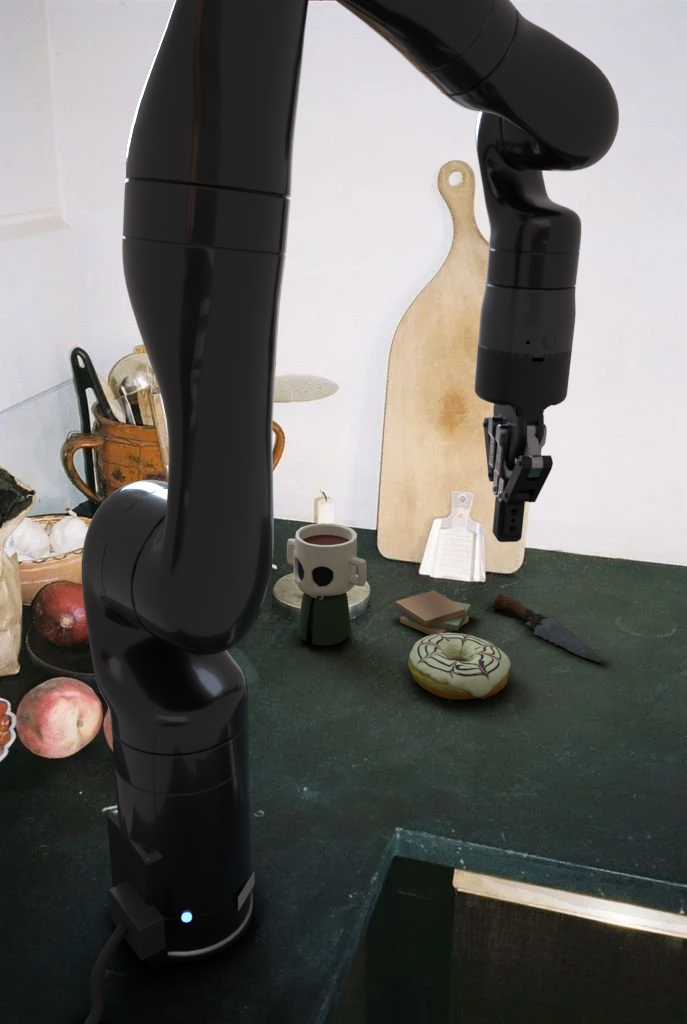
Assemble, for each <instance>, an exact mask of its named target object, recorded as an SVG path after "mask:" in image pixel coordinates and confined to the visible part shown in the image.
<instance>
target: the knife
mask: <svg viewBox="0 0 687 1024" xmlns="http://www.w3.org/2000/svg"><path fill="white" fill-rule="evenodd" d="M492 609H493V611H499V610H500V611H502V610H505V611H507V612H511V613H513V614H514V615H516V616H518V617H520V618H521V619H522V620H523V621H524V622H525V625H526V626H529V628H531V629H532V631H533V636H537V637H539V638H541V639H543V640H547V641H548V642H549V643H553V644H554V645H555V646H559V647H561V648H563V649H565V650H566V651H568V652H569V653H572V654H573V655H576V656H578V657H582V658H583V659H587V660H590V661H593V662H596V663H602V660H601V658H599V656H598V655H597V654H596V653H595V651H593V650H592V649H591V647H589V646H588V645H587V644H586V643H585V642H584V641H583V640H582V639H579V638H578V636H577V635H575V633H574V632H573V631H571V630H569V628H567V627H565V625H564V624H562V623H561V621H560V620H557V619H556V617H555V616H553V617H551V618H550V617H549V618H548V617H547V616H545V615H543V614H542V613H540V612H538V613H536V612H534V610H532V609H530V608H527V607H525V606H524V605H523V604H522V603H521V602H520V601H518V600H515V599H513V598H511V597H509V596H506V595H504V594H502V593H498V594H497V595H496V596H495V599H494V602H493V605H492Z"/></svg>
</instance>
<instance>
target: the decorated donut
mask: <svg viewBox="0 0 687 1024" xmlns="http://www.w3.org/2000/svg"><path fill="white" fill-rule="evenodd" d="M510 668H511V659H510V658H509V656H508V655H507V654H506V653H505V652H504V651H503V650H501V649H500V648H499V647H498V646H496V645H495V644H493V643H492V642H491V641H489V640H488V639H484V638H481V637H477V636H475V635H472V634H465V633H461V632H460V633H459V632H451V633H440V634H433V635H427V636H423V637H422V638H421V639H419V640H418V641H417V640H416V642H415V643H414V645H413V647H412V648H411V650H410V652H409V657H408V669H409V670H410V672H411V676H412V677H413V679H414V681H415V682H416V683H417V684H418V685H419V686H420V687H421V688H423V689H424V690H425V691H427V692H429V693H430V694H433V695H434V696H437V697H438V698H444V699H447V700H460V701H465V700H477V699H482V700H485V699H487V698H489V697H491V696H495V695H496V694H498V693H499V692H500V691H501V690H503V689H504V688H505V687H506V685H507V684H508V679H509V674H510V673H509V671H510Z"/></svg>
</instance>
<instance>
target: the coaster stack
mask: <svg viewBox="0 0 687 1024" xmlns="http://www.w3.org/2000/svg"><path fill="white" fill-rule="evenodd" d="M471 607H472V606H471V604H470V603H464V602H458V601H454V600H451V599H450V598H448V597H447V596H445V595H443V594H442V593H440V592H438V591H437V590H435V589H433V590H430V591H427V592H423V593H419V594H416V595H413V596H409V597H406V598H403V599H398V600H395V608H396V609H398V610H399V611H401V612H403V613H404V614H403V615H401V616H400V617H399V623H400V624H402V625H405V626H408V627H410V628H412V629H415V630H417V631H419V632H422V633H424V634H427V635H428V636H430V635H433V634H440V633H453V632H454V631H455V632H459V630H460V628H461V627H462V626H464V625H466V624H467V623H469V621H470V616H469V613H470V612H471Z"/></svg>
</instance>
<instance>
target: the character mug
mask: <svg viewBox="0 0 687 1024" xmlns="http://www.w3.org/2000/svg"><path fill="white" fill-rule="evenodd" d="M357 555H358V534H357V532H356V531H355V530H354V529H353V528H351V527H348V526H347V525H344V524H337V523H333V522H332V523H329V522H328V523H326V522H324V523H323V522H319V523H312V524H308V525H304V526H302V527H300V528H299V529H298V530H296V532H295V537H294V538H288V540H287V542H286V562H287V564H288V565H291V566H292V567H293V578H294V583H295V584H296V585H297V587H298V588H299V590H300V591H301V592H302V596H301V597H302V598H301V603H300V610H299V617H298V627H297V630H298V631H297V633H298V634H297V635H298V637H299V638H300V639H301V640H302V641H305V642H307V634H308V635H310V636H311V637H312V639H311V644H312V645H316V646H318V645H319V646H331V645H338V644H339V643H341V642H343V641H344V640H346V639H347V638H348V637H349V636H350V635H351V633H352V623H351V614H350V606H349V597H348V594H347V592H348V593H349V591H351V590H352V589H353V588H354V587H355V586H358V587H365V585H366V582H367V573H368V571H367V570H368V569H367V568H368V567H367V566H368V564H367V561H366V560H365V559H364V558H360V557H358V556H357Z"/></svg>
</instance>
